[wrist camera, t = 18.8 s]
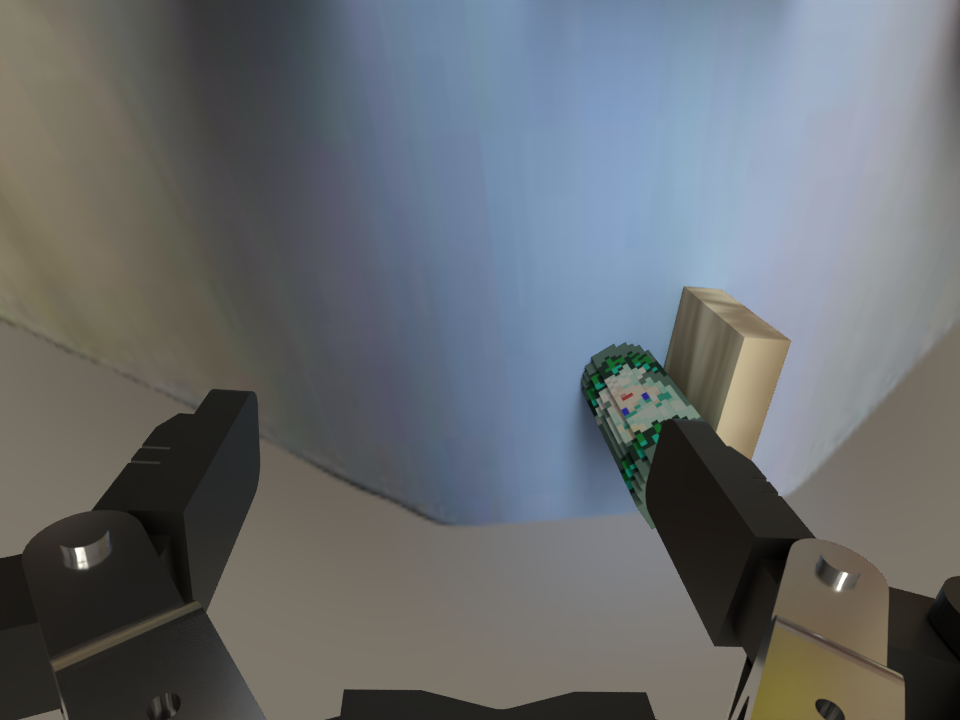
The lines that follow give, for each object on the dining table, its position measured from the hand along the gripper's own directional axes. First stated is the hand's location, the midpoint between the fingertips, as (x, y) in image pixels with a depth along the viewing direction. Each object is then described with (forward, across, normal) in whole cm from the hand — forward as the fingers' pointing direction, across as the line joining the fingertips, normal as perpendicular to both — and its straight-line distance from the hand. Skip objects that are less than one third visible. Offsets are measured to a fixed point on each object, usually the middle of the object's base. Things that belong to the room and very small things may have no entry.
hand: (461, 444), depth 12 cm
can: (+33, -16, +14) cm, 39 cm away
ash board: (+33, -20, +14) cm, 41 cm away
